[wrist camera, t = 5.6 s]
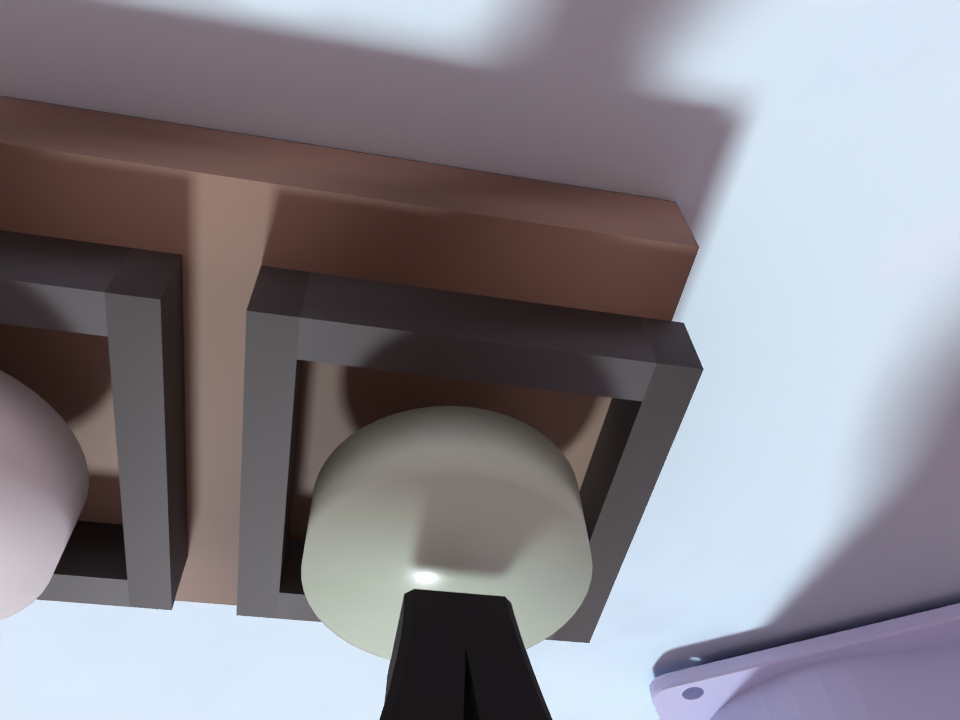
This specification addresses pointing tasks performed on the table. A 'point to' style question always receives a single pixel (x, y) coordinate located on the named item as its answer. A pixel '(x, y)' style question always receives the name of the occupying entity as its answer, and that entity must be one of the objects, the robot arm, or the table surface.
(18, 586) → the pale pink button
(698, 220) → the table surface
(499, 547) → the sage button
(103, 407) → the button panel
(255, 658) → the table surface
